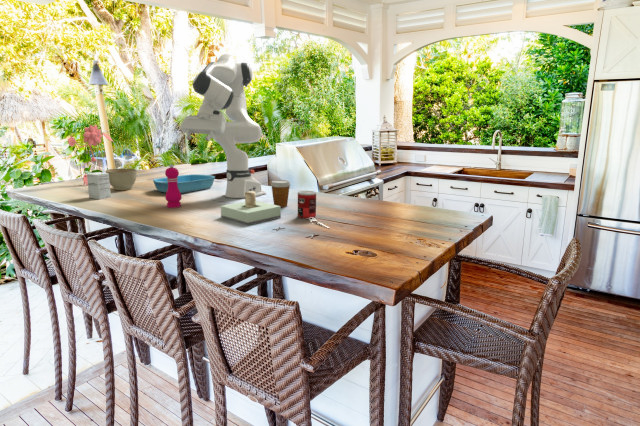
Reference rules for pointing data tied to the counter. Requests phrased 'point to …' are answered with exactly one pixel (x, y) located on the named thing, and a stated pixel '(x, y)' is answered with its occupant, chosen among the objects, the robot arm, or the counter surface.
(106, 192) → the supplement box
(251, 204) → the birch peg
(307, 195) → the canned food
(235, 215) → the socket block
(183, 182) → the casserole dish
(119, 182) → the planter bowl
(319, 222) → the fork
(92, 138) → the red flower plant
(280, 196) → the disposable coffee cup
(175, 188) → the pepper mill
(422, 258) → the counter surface
